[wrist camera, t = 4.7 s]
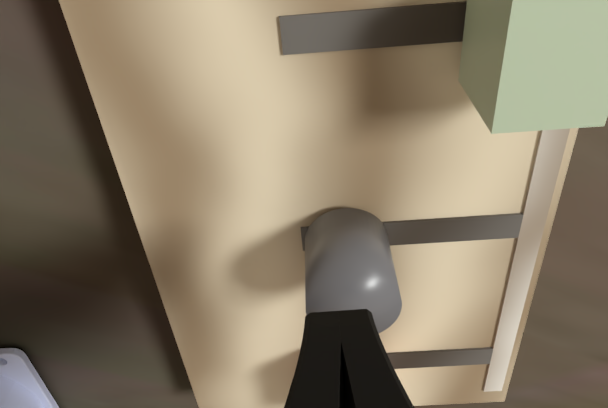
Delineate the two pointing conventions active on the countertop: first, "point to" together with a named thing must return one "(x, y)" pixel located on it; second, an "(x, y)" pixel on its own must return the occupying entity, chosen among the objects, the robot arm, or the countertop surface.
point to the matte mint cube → (536, 63)
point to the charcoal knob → (351, 266)
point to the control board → (318, 181)
